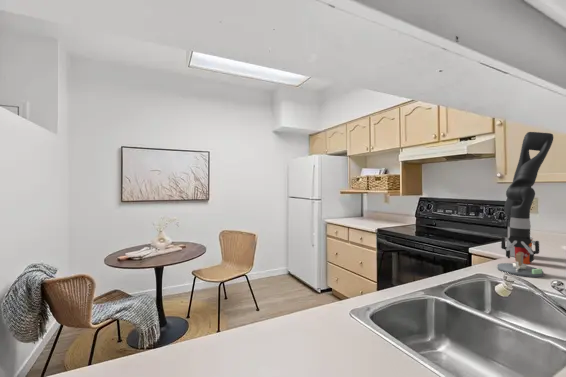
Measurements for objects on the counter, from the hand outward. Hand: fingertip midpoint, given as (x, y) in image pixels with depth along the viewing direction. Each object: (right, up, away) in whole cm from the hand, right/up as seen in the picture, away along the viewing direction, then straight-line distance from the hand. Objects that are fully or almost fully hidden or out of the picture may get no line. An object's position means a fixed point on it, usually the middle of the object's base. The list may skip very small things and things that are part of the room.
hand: (519, 259), depth 131 cm
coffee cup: (+15, -6, +15) cm, 21 cm away
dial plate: (0, -6, 0) cm, 6 cm away
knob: (-1, -4, -1) cm, 4 cm away
